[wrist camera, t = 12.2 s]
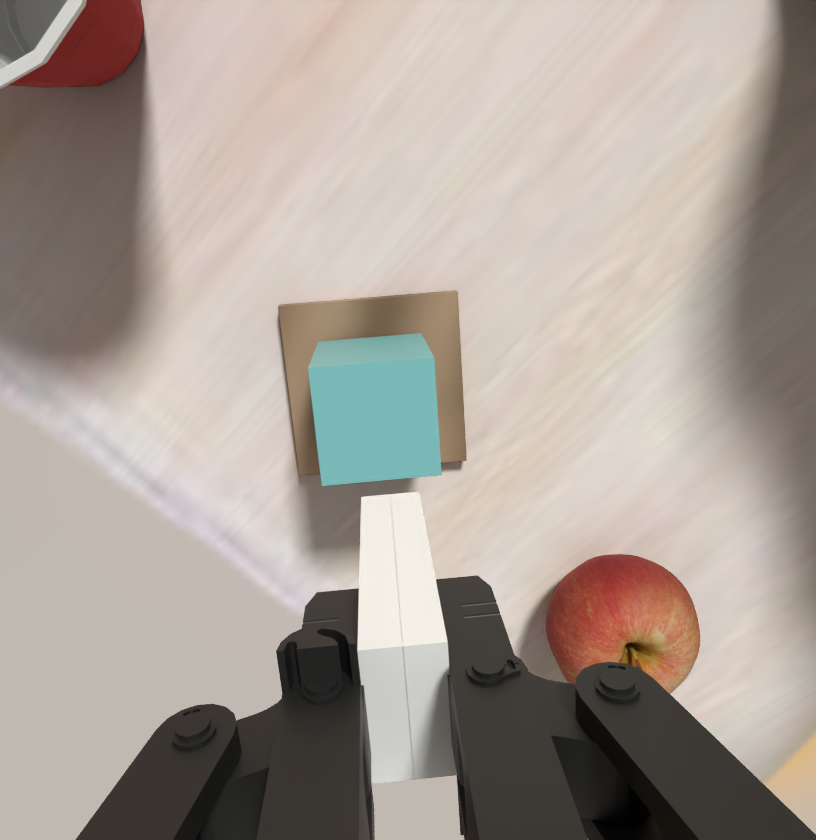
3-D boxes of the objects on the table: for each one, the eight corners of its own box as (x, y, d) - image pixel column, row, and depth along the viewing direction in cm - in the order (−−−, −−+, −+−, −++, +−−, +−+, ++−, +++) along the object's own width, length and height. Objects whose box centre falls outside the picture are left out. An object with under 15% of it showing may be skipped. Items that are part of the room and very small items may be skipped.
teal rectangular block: (421, 332, 34) (434, 357, 28) (427, 430, 36) (441, 475, 29) (318, 341, 34) (307, 367, 28) (329, 439, 35) (321, 486, 29)
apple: (523, 651, 41) (560, 749, 33) (538, 530, 39) (581, 605, 31) (651, 653, 42) (716, 750, 34) (673, 535, 39) (748, 609, 32)
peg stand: (455, 290, 35) (477, 306, 28) (464, 455, 37) (486, 506, 31) (279, 304, 34) (259, 323, 28) (300, 470, 37) (287, 524, 30)
